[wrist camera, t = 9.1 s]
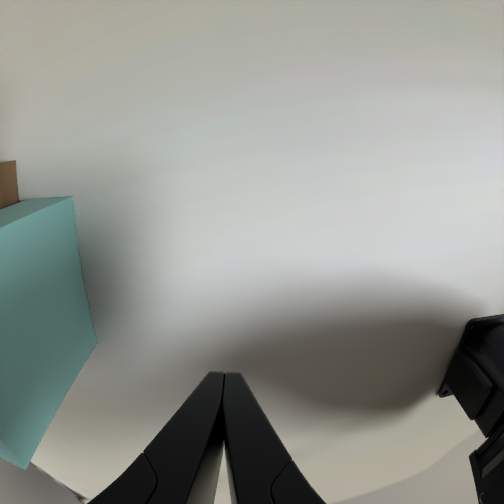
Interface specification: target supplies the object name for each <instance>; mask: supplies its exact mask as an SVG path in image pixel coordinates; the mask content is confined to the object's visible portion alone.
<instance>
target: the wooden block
mask: <svg viewBox="0 0 504 504" xmlns="http://www.w3.org/2000/svg"><path fill="white" fill-rule="evenodd" d="M16 203H19V199H18V189H17V177H16V161H11V162H6V163H1V164H0V210H1V209H3V208H6V207H8V206H11V205H14V204H16Z"/></svg>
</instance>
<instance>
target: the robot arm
mask: <svg viewBox="0 0 504 504" xmlns="http://www.w3.org/2000/svg"><path fill="white" fill-rule="evenodd" d="M473 325H474V326H473ZM472 326H473V327H472ZM471 327H472V328H471ZM438 395H439V397H441V398H442V397H446V396H450V395H454V396H455V397H456V399H457V400H458V402H459V403H460V405H461V406H462V408H463V410H464V411H465V413H466V414H467V416H468V417H469V419H470V420H475V422H476V424H477V425H478V427H479V428H480V430H481V431H482V433H483V435H484V436H485V438H487V437H489V438H488V439H487V440H486V441H485V442H484V443H483V444H482V445H481V446H480V447H479V448H478V449H477V450H474V452H473V453H471V454H470V455H469V459H470V464H471V468H472V472H473V477H474V481H475V486H476V491H477V496H478V501H479V504H504V314H502V315H495V316H489V317H482V318H475V319H471V320H470V321H469V322H468V323H467V325H466V327H465V330H464V333H463V335H462V338H461V341H460V343H459V346H458V348H457V351H456V353H455V355H454V358H453V360H452V362H451V365H450V367H449V369H448V372H447V374H446V376H445V378H444V380H443V382H442V384H441V387H440V389H439V391H438ZM224 446H225V457H226V465H227V473H228V481H229V488H230V496H231V503H232V504H326V503H325V502H324V501H323V500H322V498H321V497H320V496H319V495H318V494H317V493H316V491H315V490H314V489H313V488H312V487H311V485H310V484H309V483H308V481H307V480H306V479H305V477H304V476H303V474H302V473H301V472H300V470H299V468H298V467H297V465H296V464H295V462H294V461H293V460H292V458H291V456H290V455H289V453H288V451H287V450H286V448H285V447H284V445H283V443H282V442H281V440H280V439H279V437H278V435H277V434H276V432H275V430H274V429H273V427H272V425H271V424H270V422H269V420H268V419H267V417H266V415H265V414H264V412H263V410H262V409H261V407H260V405H259V404H258V402H257V400H256V398H255V397H254V395H253V393H252V391H251V390H250V388H249V386H248V384H247V383H246V381H245V379H244V377H243V376H242V374H241V373H240V372H226V373H224V372H217V371H210V372H209V373H208V374H207V375H206V376H205V377H204V379H203V380H202V381H201V382H200V384H199V385H198V386H197V387H196V389H195V390H194V391H193V392H192V393H191V395H190V396H189V397H188V398H187V400H186V401H185V402H184V403H183V404H182V406H181V407H180V408H179V409H178V410H177V412H176V413H175V414H174V415H173V416H172V418H171V419H170V420H169V421H168V422H167V424H166V425H165V426H164V427H163V428H162V430H161V431H160V432H159V433H158V434H157V435H156V437H155V438H154V439H153V440H152V441H151V442H150V444H149V445H148V446H147V447H146V448H145V449H144V451H143V453H141V454H140V455H139V456H138V457H137V458H136V460H135V461H134V462H133V463H132V464H131V465H130V466H129V467H128V468H127V469H126V470H125V471H124V472H123V473H122V475H121V476H119V477H118V478H117V479H116V480H115V481H114V482H113V483H112V484H110V485H109V486H108V487H107V488H106V489H105V490H103V491H102V492H101V493H100V494H99V495H97V496H96V497H95V498H94V499H92V500H91V501H90V502H89V503H87V504H214V499H215V493H216V488H217V482H218V477H219V471H220V466H221V460H222V455H223V448H224Z"/></svg>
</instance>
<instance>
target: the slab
mask: <svg viewBox="0 0 504 504" xmlns="http://www.w3.org/2000/svg"><path fill="white" fill-rule="evenodd" d="M96 344H97V339H96V335H95V331H94V327H93V323H92V318H91V314H90V309H89V305H88V300H87V295H86V290H85V285H84V280H83V274H82V268H81V262H80V256H79V249H78V242H77V234H76V226H75V217H74V206H73V196H71V197H54V198H39V199H27V200H24V201H21V202H19V203H16V204H14V205H11V206H8V207H6V208H3V209H1V210H0V458H2V459H4V460H6V461H8V462H10V463H12V464H14V465H16V466H18V467H20V468H22V469H25V470H26V468H27V466H28V464H29V462H30V460H31V458H32V456H33V454H34V452H35V450H36V448H37V446H38V444H39V443H40V441H41V439H42V437H43V435H44V433H45V431H46V429H47V427H48V426H49V424H50V422H51V420H52V418H53V416H54V415H55V413H56V411H57V409H58V407H59V406H60V404H61V402H62V400H63V399H64V397H65V395H66V393H67V392H68V390H69V388H70V387H71V385H72V383H73V381H74V380H75V378H76V376H77V375H78V373H79V371H80V370H81V368H82V366H83V365H84V363H85V362H86V360H87V358H88V357H89V355H90V353H91V352H92V350H93V349H94V347H95V346H96Z"/></svg>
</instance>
